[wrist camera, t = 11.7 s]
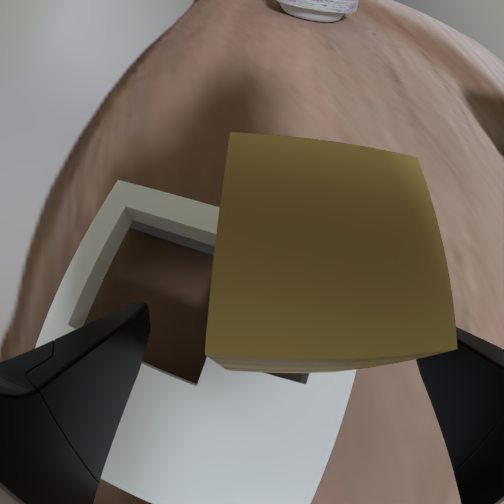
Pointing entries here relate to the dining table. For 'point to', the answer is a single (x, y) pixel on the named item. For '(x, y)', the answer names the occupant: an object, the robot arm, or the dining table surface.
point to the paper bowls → (319, 9)
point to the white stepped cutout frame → (200, 387)
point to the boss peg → (325, 260)
